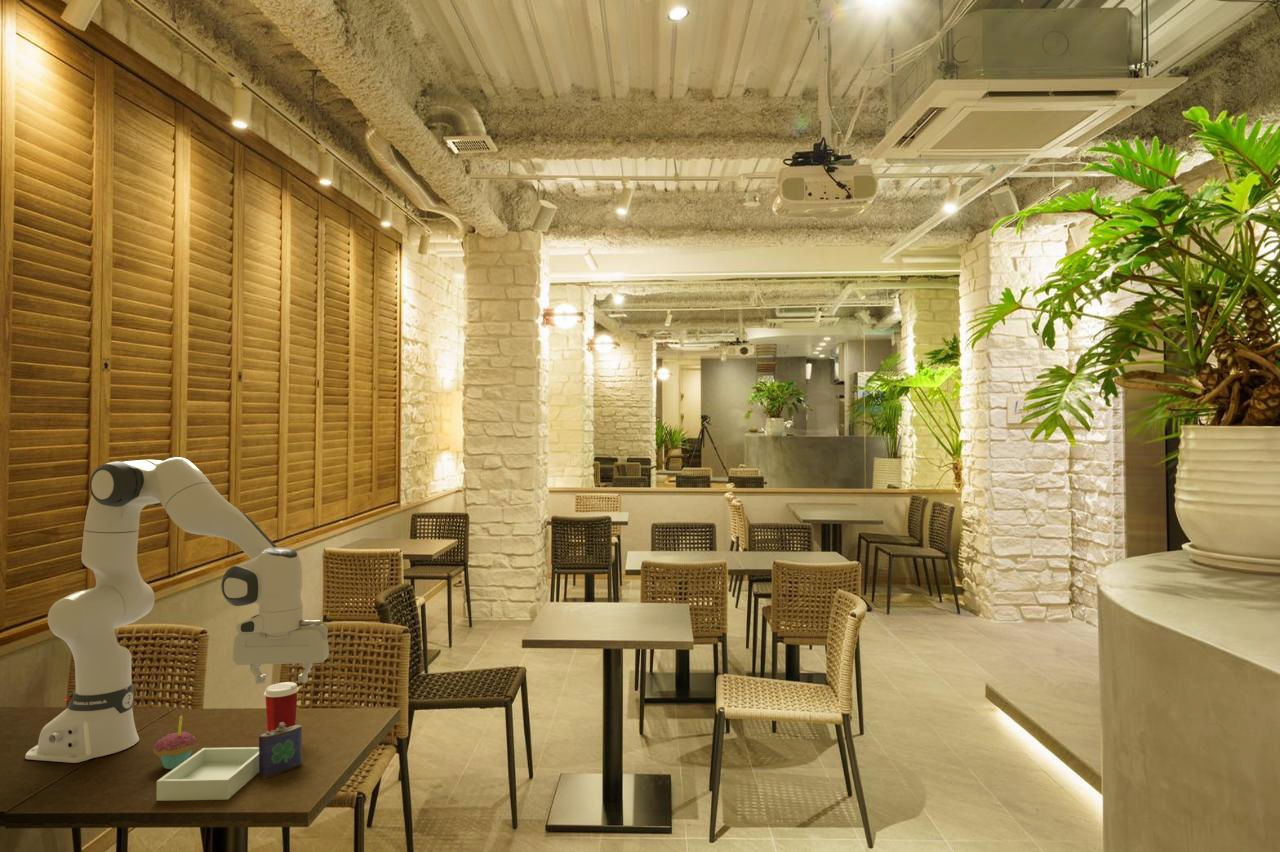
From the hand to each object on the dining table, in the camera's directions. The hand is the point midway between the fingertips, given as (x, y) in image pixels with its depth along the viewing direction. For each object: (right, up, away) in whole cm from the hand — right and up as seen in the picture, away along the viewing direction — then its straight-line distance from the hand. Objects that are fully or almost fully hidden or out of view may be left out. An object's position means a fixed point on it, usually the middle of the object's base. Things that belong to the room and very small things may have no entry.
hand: (281, 682), depth 167 cm
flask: (0, -20, 0) cm, 20 cm away
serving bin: (-12, -20, -6) cm, 24 cm away
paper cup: (-7, -20, +15) cm, 26 cm away
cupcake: (-26, -20, +3) cm, 33 cm away
